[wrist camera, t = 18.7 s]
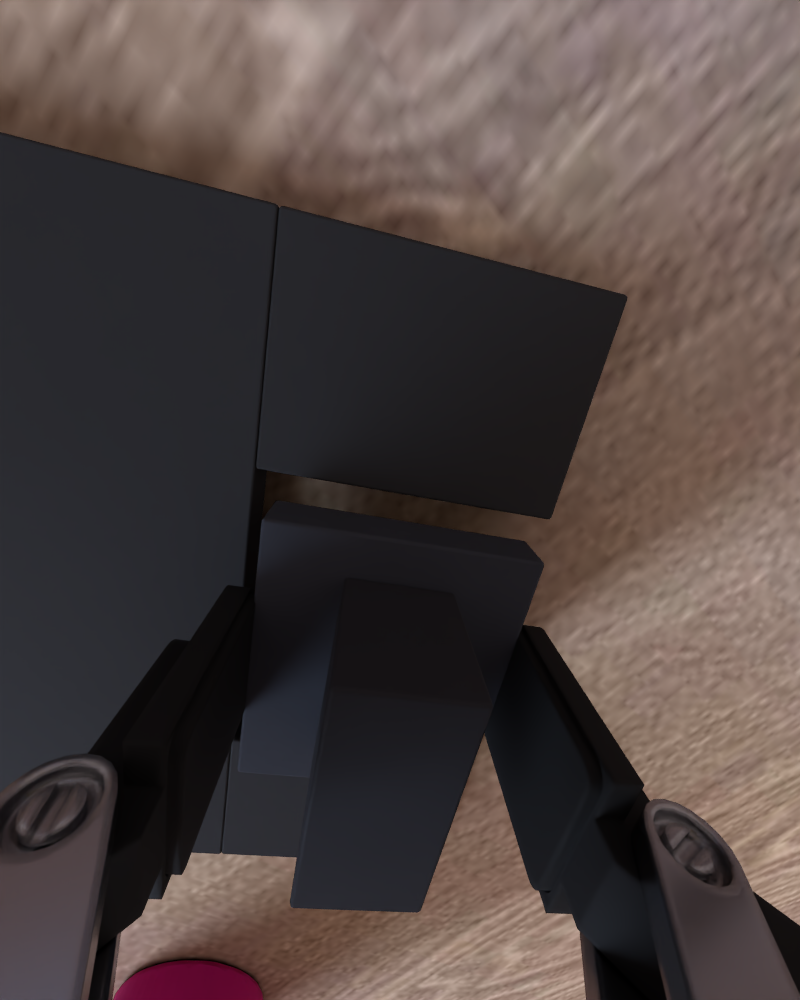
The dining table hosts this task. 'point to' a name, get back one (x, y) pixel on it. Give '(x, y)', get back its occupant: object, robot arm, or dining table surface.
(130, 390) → the black u-shaped block
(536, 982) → the dining table surface
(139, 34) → the dining table surface
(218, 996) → the pepper mill
